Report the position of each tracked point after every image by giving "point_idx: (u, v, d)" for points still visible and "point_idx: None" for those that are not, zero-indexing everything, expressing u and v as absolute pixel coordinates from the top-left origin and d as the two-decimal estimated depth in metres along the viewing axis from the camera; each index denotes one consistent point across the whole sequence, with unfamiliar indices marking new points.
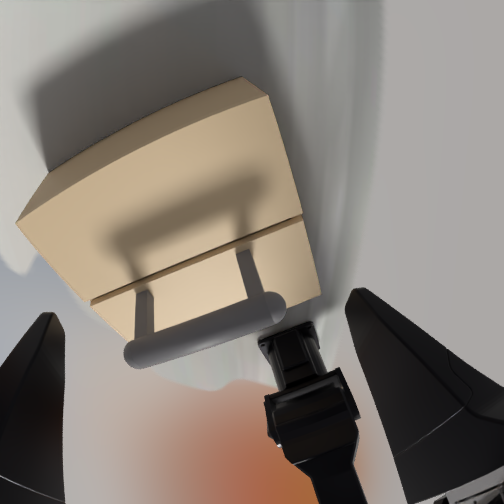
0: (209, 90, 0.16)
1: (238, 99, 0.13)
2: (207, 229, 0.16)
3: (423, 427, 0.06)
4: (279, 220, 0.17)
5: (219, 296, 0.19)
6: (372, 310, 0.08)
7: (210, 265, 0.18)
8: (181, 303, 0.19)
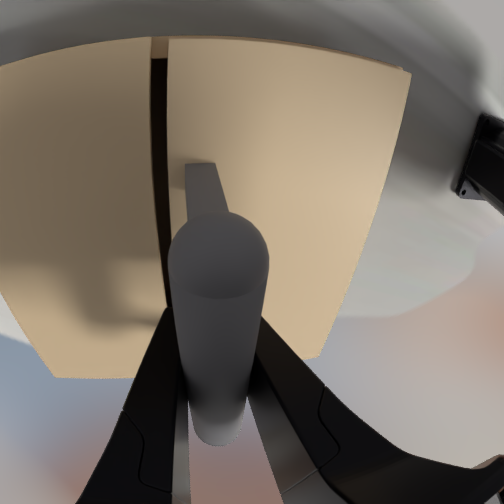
0: None
1: None
2: (111, 217, 0.08)
3: None
4: (144, 88, 0.06)
5: (271, 244, 0.10)
6: None
7: None
8: None
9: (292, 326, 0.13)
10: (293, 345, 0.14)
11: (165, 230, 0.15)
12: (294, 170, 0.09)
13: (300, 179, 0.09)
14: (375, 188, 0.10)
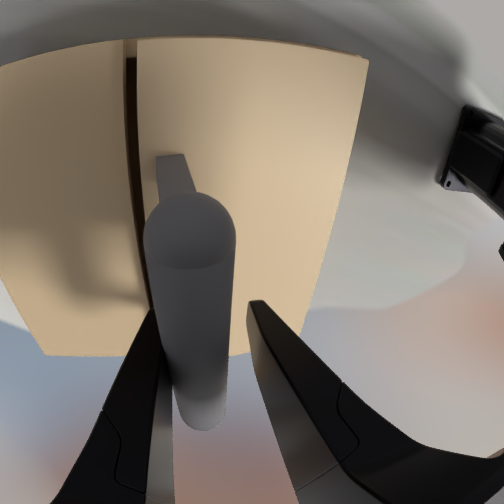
0: None
1: None
2: (93, 197, 0.09)
3: (313, 468, 0.06)
4: (119, 83, 0.07)
5: (242, 230, 0.11)
6: (259, 327, 0.08)
7: None
8: None
9: None
10: None
11: None
12: (259, 157, 0.09)
13: (265, 166, 0.09)
14: (339, 171, 0.10)
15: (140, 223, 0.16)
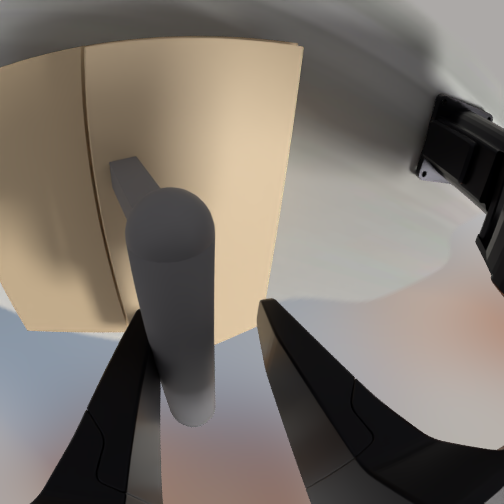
0: None
1: None
2: (61, 181, 0.10)
3: (326, 465, 0.06)
4: (78, 83, 0.08)
5: None
6: (272, 326, 0.08)
7: (122, 230, 0.09)
8: None
9: (230, 299, 0.14)
10: (235, 318, 0.15)
11: None
12: (207, 150, 0.09)
13: (213, 158, 0.10)
14: (282, 154, 0.11)
15: None
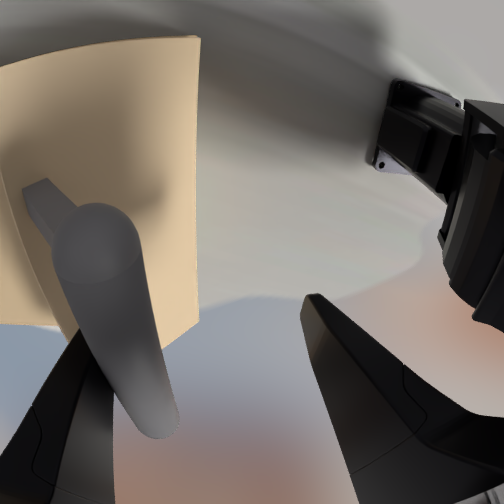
0: None
1: None
2: None
3: (376, 447, 0.06)
4: None
5: None
6: (322, 318, 0.08)
7: (46, 257, 0.08)
8: None
9: (164, 302, 0.14)
10: (173, 320, 0.15)
11: None
12: (115, 158, 0.08)
13: (122, 164, 0.09)
14: (189, 148, 0.11)
15: None
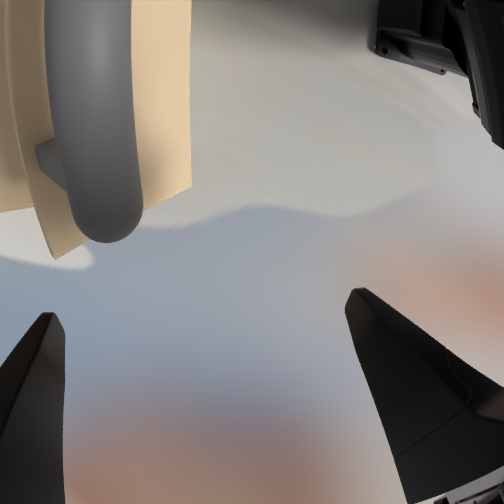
0: None
1: None
2: None
3: (423, 427, 0.06)
4: None
5: None
6: (372, 310, 0.08)
7: (24, 16, 0.05)
8: None
9: (148, 133, 0.10)
10: (158, 167, 0.12)
11: None
12: None
13: None
14: None
15: None
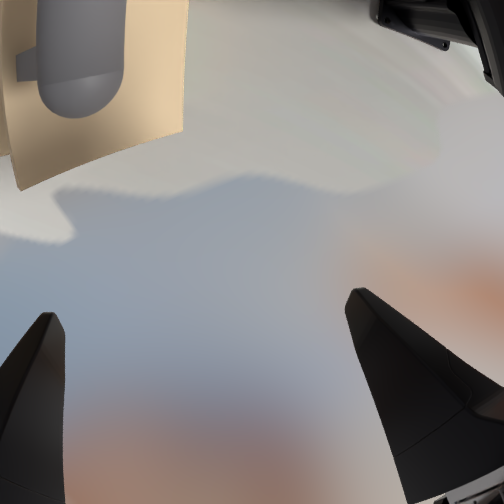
0: None
1: None
2: None
3: (423, 427, 0.06)
4: None
5: None
6: (372, 310, 0.08)
7: None
8: None
9: (139, 61, 0.09)
10: (147, 101, 0.10)
11: None
12: None
13: None
14: None
15: None
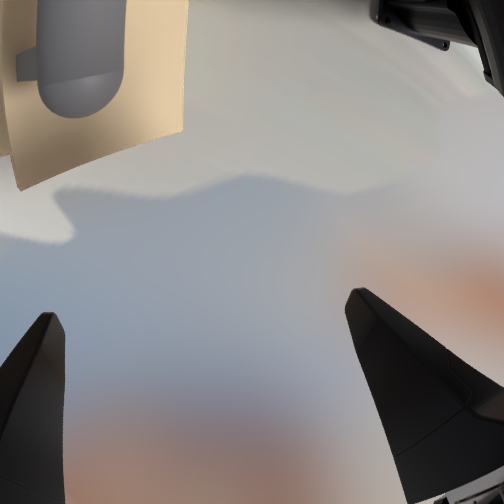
0: None
1: None
2: None
3: (423, 427, 0.06)
4: None
5: None
6: (372, 310, 0.08)
7: None
8: None
9: (139, 61, 0.09)
10: (147, 101, 0.10)
11: None
12: None
13: None
14: None
15: None
